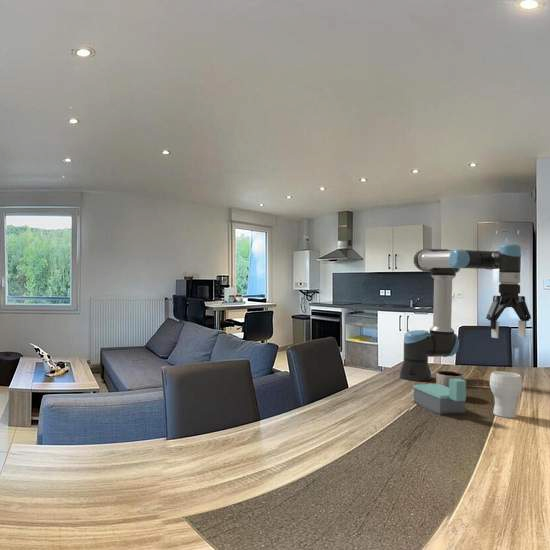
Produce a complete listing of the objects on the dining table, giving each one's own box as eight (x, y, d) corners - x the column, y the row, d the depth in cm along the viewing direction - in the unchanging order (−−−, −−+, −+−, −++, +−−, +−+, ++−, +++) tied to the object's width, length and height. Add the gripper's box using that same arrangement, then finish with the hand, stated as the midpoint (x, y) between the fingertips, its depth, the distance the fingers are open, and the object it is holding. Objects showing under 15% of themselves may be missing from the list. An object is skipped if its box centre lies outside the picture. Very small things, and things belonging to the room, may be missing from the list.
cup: (525, 420, 156) (526, 378, 156) (493, 417, 159) (494, 376, 159) (515, 411, 167) (516, 372, 167) (485, 409, 169) (486, 370, 169)
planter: (458, 393, 193) (458, 371, 193) (466, 400, 182) (467, 376, 182) (432, 392, 194) (433, 370, 194) (439, 398, 183) (440, 375, 183)
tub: (413, 402, 176) (414, 387, 176) (437, 401, 179) (437, 386, 179) (439, 415, 160) (440, 398, 160) (465, 413, 164) (465, 396, 164)
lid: (413, 387, 176) (413, 369, 176) (437, 386, 179) (438, 368, 179) (447, 401, 156) (447, 381, 156) (474, 399, 160) (474, 380, 160)
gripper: (491, 283, 167) (490, 339, 167) (541, 284, 175) (540, 338, 175) (477, 282, 174) (475, 336, 174) (525, 284, 182) (524, 335, 182)
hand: (508, 337), depth 174 cm, fingers open, 13 cm apart
